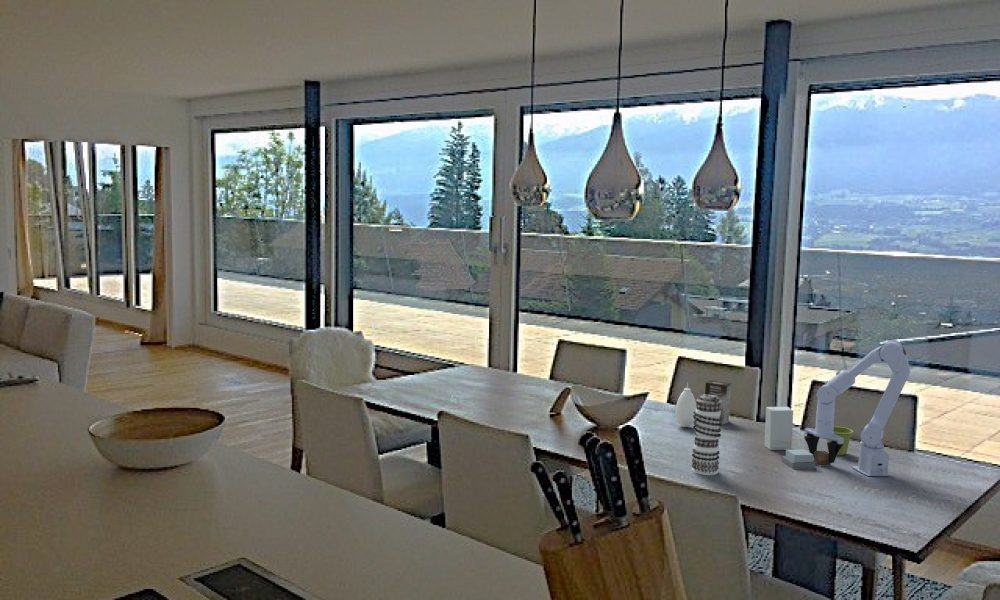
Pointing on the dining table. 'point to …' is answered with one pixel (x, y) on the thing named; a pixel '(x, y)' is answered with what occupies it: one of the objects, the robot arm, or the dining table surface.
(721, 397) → the coffee box
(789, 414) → the skincare box
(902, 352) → the robot arm
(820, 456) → the walnut cube
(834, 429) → the plant pot
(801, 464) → the base slab
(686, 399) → the sauce bottle
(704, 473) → the decorative candle
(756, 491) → the dining table surface
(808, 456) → the top slab
